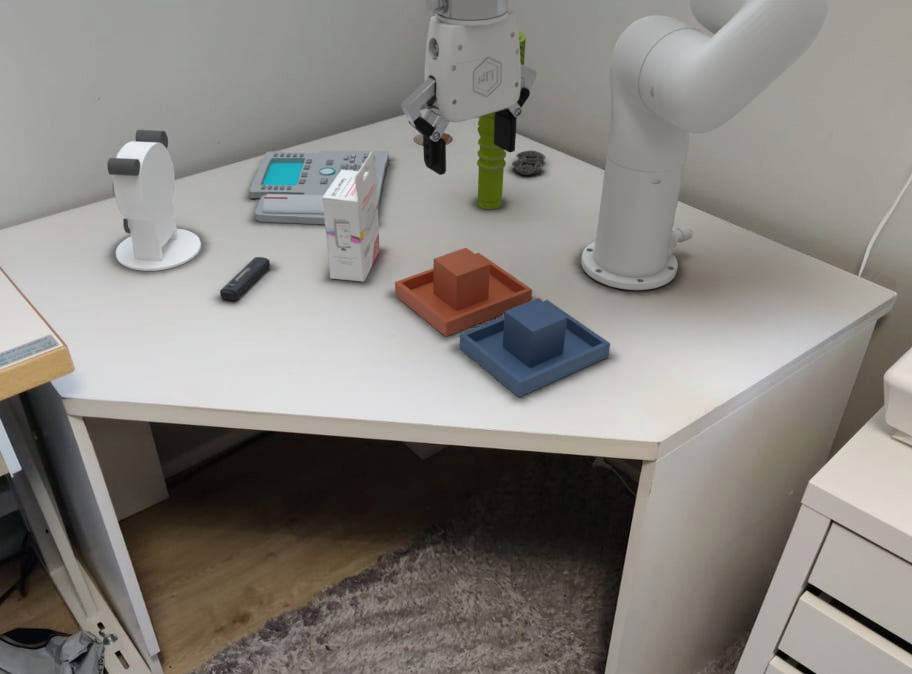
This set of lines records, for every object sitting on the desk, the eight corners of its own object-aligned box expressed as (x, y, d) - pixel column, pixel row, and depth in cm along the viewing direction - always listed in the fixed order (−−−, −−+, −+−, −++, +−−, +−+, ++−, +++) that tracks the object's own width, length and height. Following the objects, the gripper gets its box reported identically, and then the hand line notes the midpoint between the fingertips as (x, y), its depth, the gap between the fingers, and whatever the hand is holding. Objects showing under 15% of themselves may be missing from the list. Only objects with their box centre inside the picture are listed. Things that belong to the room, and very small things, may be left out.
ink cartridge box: (345, 247, 123) (338, 146, 114) (380, 251, 122) (376, 149, 113) (327, 279, 116) (318, 174, 107) (364, 283, 115) (358, 177, 106)
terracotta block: (465, 281, 115) (466, 247, 112) (488, 298, 112) (490, 264, 108) (433, 293, 113) (433, 258, 109) (456, 311, 109) (456, 276, 106)
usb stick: (255, 263, 119) (254, 253, 118) (272, 267, 118) (271, 257, 118) (218, 299, 112) (216, 288, 111) (236, 303, 112) (234, 292, 111)
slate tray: (545, 313, 110) (547, 299, 109) (608, 357, 103) (610, 343, 101) (459, 348, 104) (459, 334, 103) (519, 397, 97) (520, 383, 96)
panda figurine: (136, 225, 128) (113, 124, 118) (212, 230, 127) (195, 128, 117) (102, 268, 118) (74, 162, 109) (185, 273, 117) (164, 166, 108)
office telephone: (375, 211, 126) (235, 208, 127) (376, 227, 128) (238, 224, 128) (388, 143, 144) (266, 140, 145) (388, 158, 146) (267, 155, 146)
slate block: (535, 333, 106) (538, 297, 102) (563, 353, 102) (567, 317, 99) (502, 347, 103) (504, 311, 100) (529, 368, 100) (532, 331, 97)
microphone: (458, 211, 131) (461, 36, 116) (472, 189, 137) (477, 20, 121) (510, 219, 129) (521, 42, 114) (523, 196, 135) (535, 26, 119)
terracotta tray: (478, 265, 119) (478, 252, 118) (531, 302, 112) (532, 289, 110) (395, 295, 113) (394, 281, 112) (445, 336, 106) (445, 322, 105)
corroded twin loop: (547, 157, 146) (548, 151, 145) (540, 178, 140) (540, 172, 139) (517, 154, 147) (518, 148, 146) (508, 174, 141) (509, 168, 140)
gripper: (421, 25, 84) (426, 191, 95) (560, -7, 91) (550, 151, 102) (379, 7, 89) (388, 167, 100) (515, -22, 96) (509, 130, 107)
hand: (470, 159), depth 101 cm, fingers open, 9 cm apart
